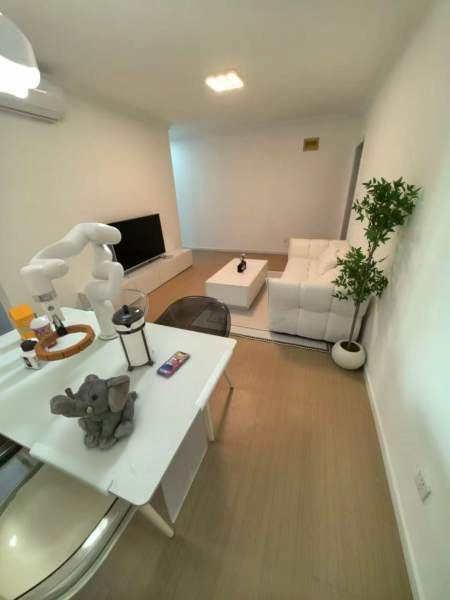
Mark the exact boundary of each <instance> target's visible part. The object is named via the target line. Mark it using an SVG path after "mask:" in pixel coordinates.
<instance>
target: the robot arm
mask: <svg viewBox="0 0 450 600" xmlns="http://www.w3.org/2000/svg"><path fill="white" fill-rule="evenodd" d="M121 240H122V233H121V232H120V230H119V229H118V228H117V227H114V226H111V225H108V224H105V223H101V222H96V221H95V222H80V223H78V224H76V225H74V226H73V228H72V229H71V230H70V231H68V232H67V234H65V236H64V237H63V238H61V239H60V240H58V241H55V242H54V243H53V244H50V245H48V246H46V247H44V248H43V249H41V250H40V251H38V252H37V253H36V255H34V256H33V257H32V259H30V260H29V262H28V265H26V266H25V265H24V266H23V267H22V268H20V270H19V273H20V276H21V277H22V280H23V281H24V284H25V285H26V287H27V289H28V291H29V293H30V295H31V297H32V299H33V301H34V303H35V304H39V305H40V307H41V308H42V310H43V313H44V314H45V316H46V319H48V320H49V321H50V324H51V325H53V326H54V329H55V330H56V331H57V333H58V335H59V337H60V338H62V337H61V336H63V337H65V336H68V335H69V334H68V333H67V331H66V329H65V327H66V326H65V324H64V323H63V322H65V321H66V318H65V316H64V314H63V311H62V309H61V307H60V305H59V302H58V301H57V298H58V294H57V292H56V289H55V287H54V285H53V283H52V280H55V279H60V278H62V277H64V276H66V275H67V274H68V273H69V270H70V267H69V264H68V262H66V261H65V259H69V258H72V257H75V256H78V255H80V254H81V253H82V251H84V249H85V248H86V247H87V246H88V244H89V243H90V244H91V247H92V248H93V251H94V258H93V263H92V267H91V276H92V277H93V279H95V280H98V281H90V282H88V283H87V284H85V286H84V289H83V291H84V292H83V293H84V295H85V297H86V299H87V300H88V302H89V304H90V305H91V306H90V307H91V308H92V311H93V313H94V316H95V319H96V323H97V324H98V327H99V330H100V332H99V333H98V336H99V338H100V339H101V340H106V341H107V340H112V339H116V338H118V335H117V333H116V331H115V328H114V324H113V323H112V320H111V319H112V317H113V314H114V313H115V312H116V311H115V309H114V305H113V303H112V301H114V300H117V299H119V298H120V296H121V294H122V289H123V283H124V276H125V271H124V267H123V265H122V264H121V263H120V262H117V261H113V253H112V250H111V249H110V248H109V247H108V245H117V244H119V243H120V242H121ZM67 334H68V335H67ZM64 335H65V336H64Z"/></svg>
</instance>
